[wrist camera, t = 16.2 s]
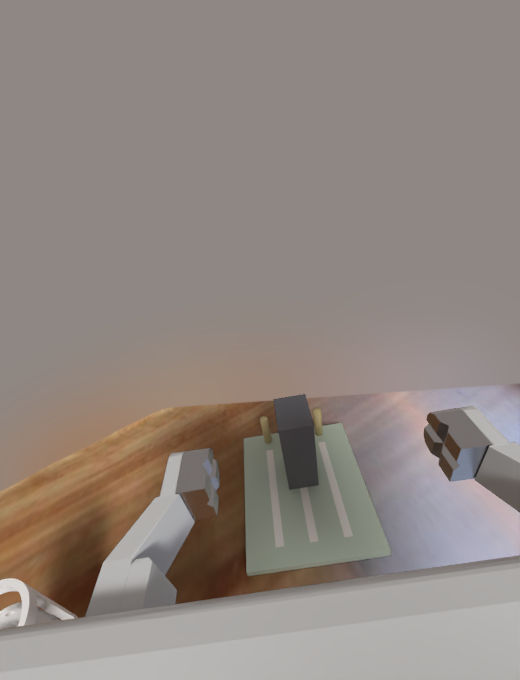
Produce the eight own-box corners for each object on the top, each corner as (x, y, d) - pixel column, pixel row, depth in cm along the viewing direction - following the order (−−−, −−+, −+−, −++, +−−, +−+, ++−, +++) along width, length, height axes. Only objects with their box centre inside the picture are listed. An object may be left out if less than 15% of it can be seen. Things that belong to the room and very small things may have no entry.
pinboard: (341, 426, 47) (341, 400, 44) (390, 555, 32) (395, 530, 29) (244, 442, 48) (237, 417, 44) (248, 576, 33) (237, 553, 29)
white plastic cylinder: (55, 765, 24) (-93, 757, 16) (17, 700, 27) (-121, 666, 19) (124, 656, 29) (37, 606, 21) (84, 612, 32) (-4, 555, 24)
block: (310, 451, 43) (304, 392, 37) (318, 485, 39) (313, 425, 32) (283, 455, 43) (273, 397, 37) (289, 489, 39) (278, 431, 32)
